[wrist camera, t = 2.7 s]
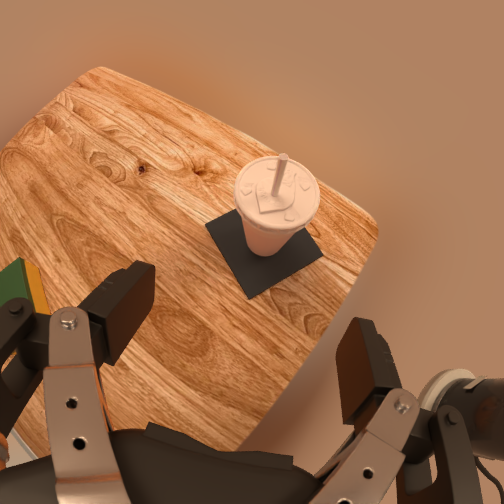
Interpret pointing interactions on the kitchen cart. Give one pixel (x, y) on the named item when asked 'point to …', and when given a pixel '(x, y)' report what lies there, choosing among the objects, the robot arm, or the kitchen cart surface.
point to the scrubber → (23, 285)
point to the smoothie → (274, 201)
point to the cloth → (260, 267)
